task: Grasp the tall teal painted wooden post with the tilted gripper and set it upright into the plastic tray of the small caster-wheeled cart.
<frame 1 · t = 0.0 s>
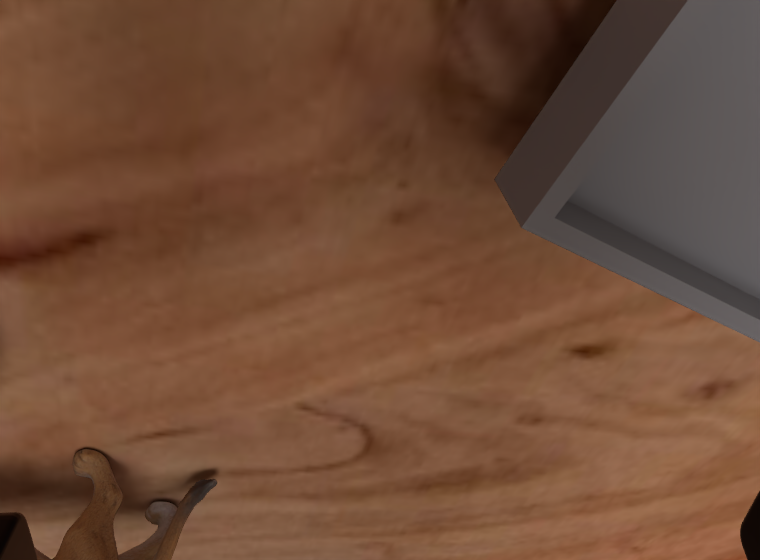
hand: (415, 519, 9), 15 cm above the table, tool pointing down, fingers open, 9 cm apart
lion figurine: (18, 489, 28), on the table
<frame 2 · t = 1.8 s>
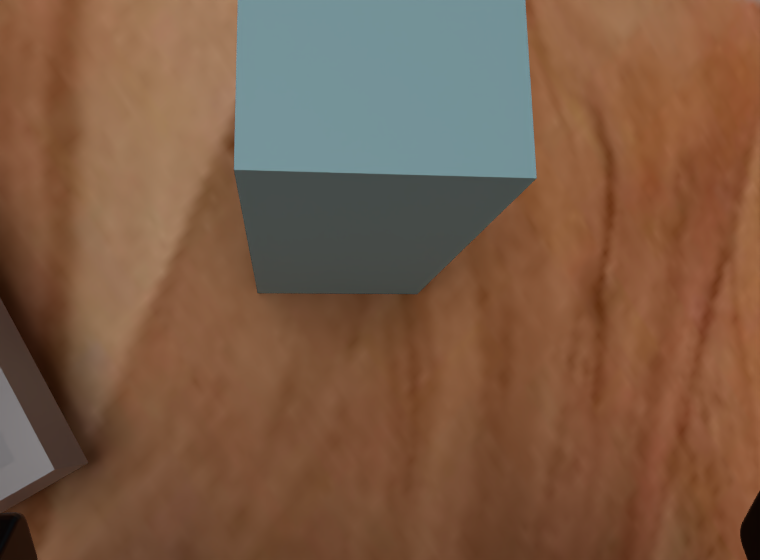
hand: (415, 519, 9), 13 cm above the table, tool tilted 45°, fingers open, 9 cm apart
post: (338, 216, 23), on the table
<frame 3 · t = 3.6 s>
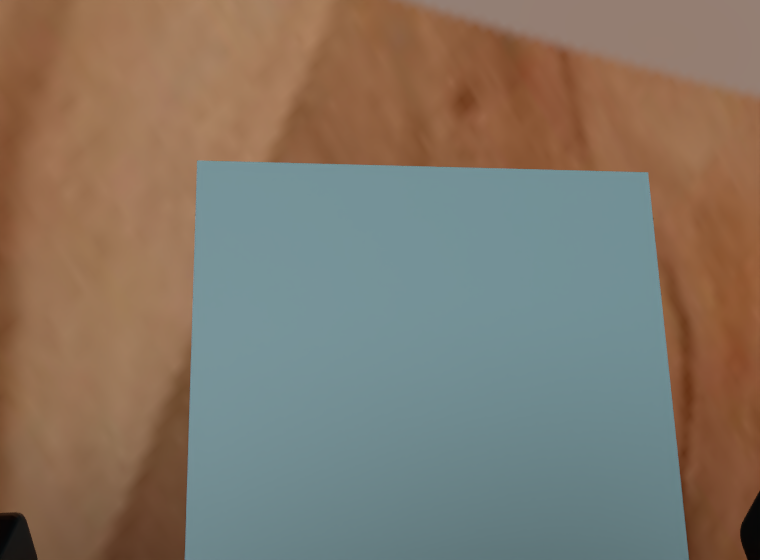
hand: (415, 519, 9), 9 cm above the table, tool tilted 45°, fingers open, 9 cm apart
post: (347, 419, 18), on the table
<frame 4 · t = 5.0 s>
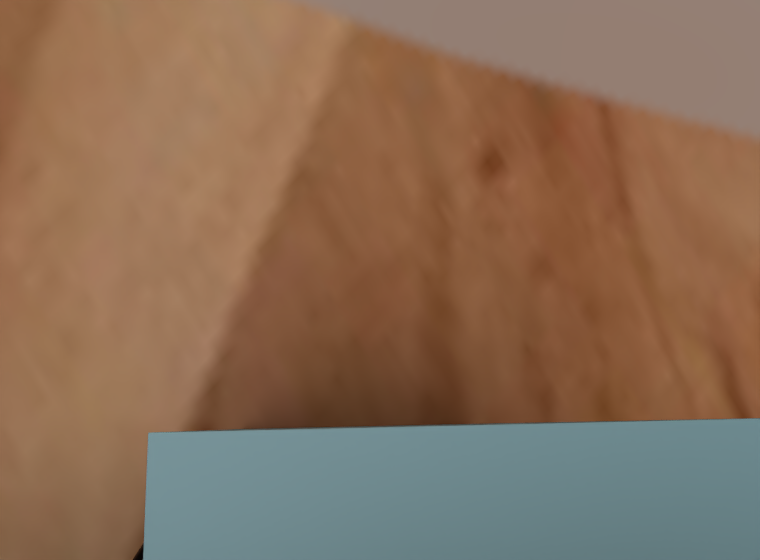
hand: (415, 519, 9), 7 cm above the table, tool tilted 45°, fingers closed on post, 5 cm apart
post: (357, 545, 15), on the table, touching gripper
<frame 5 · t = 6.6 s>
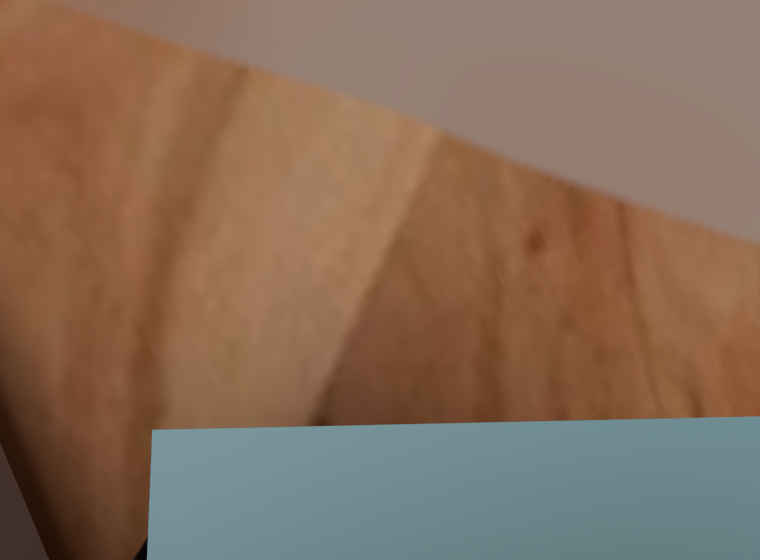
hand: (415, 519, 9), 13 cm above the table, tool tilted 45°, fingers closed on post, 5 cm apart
post: (358, 544, 15), point 6 cm above the table, touching gripper
when the fingers open (11 cm above the table, at t = 8.5 s): post drops 1 cm, resting on cart.
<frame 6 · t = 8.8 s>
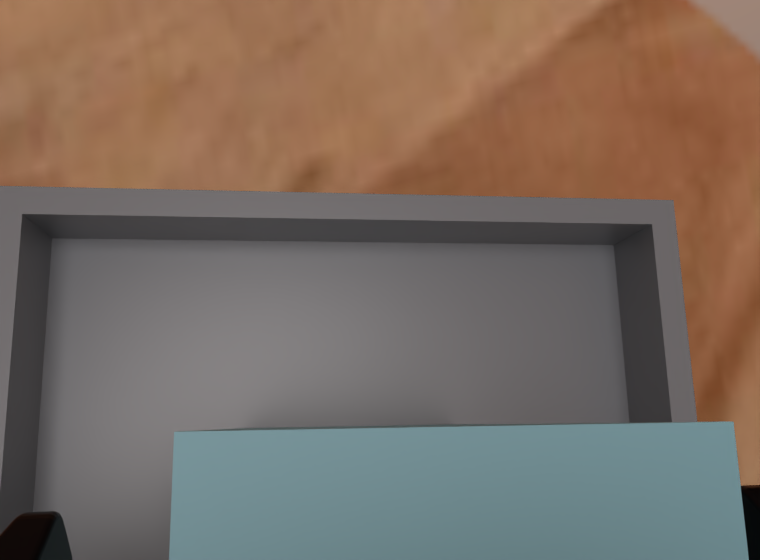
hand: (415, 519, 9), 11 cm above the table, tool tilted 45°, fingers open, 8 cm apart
cart: (350, 534, 17), point 3 cm above the table, slide at 0.0 cm, touching post
post: (351, 537, 16), point 3 cm above the table, touching cart
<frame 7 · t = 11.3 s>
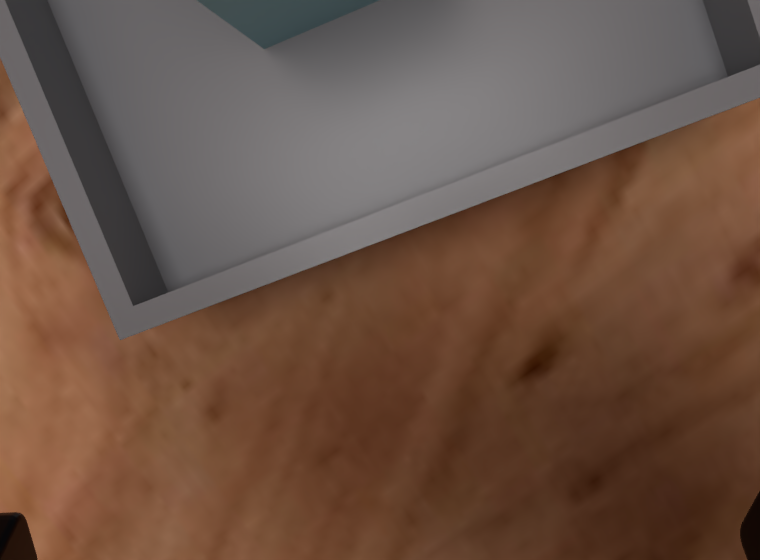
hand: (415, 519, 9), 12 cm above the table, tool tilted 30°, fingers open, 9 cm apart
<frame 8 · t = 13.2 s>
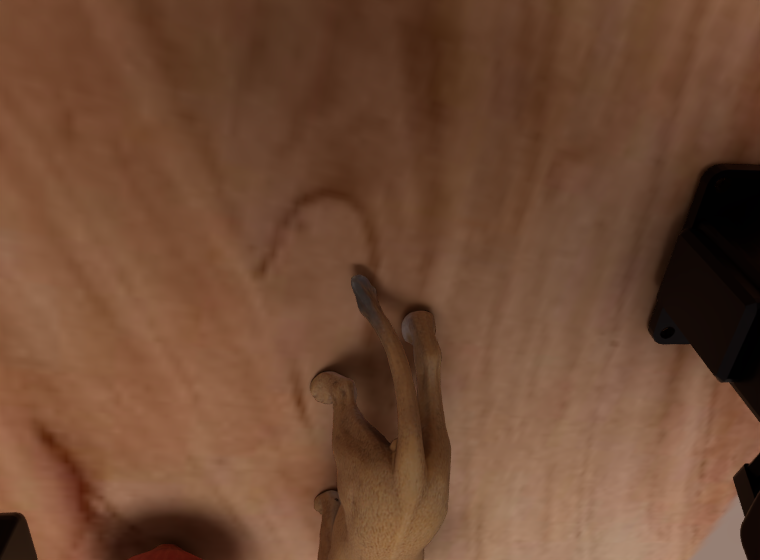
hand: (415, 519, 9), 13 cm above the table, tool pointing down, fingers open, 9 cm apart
lion figurine: (379, 437, 27), on the table
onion: (171, 544, 29), on the table
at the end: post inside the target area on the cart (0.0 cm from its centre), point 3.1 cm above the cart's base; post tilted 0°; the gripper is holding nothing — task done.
